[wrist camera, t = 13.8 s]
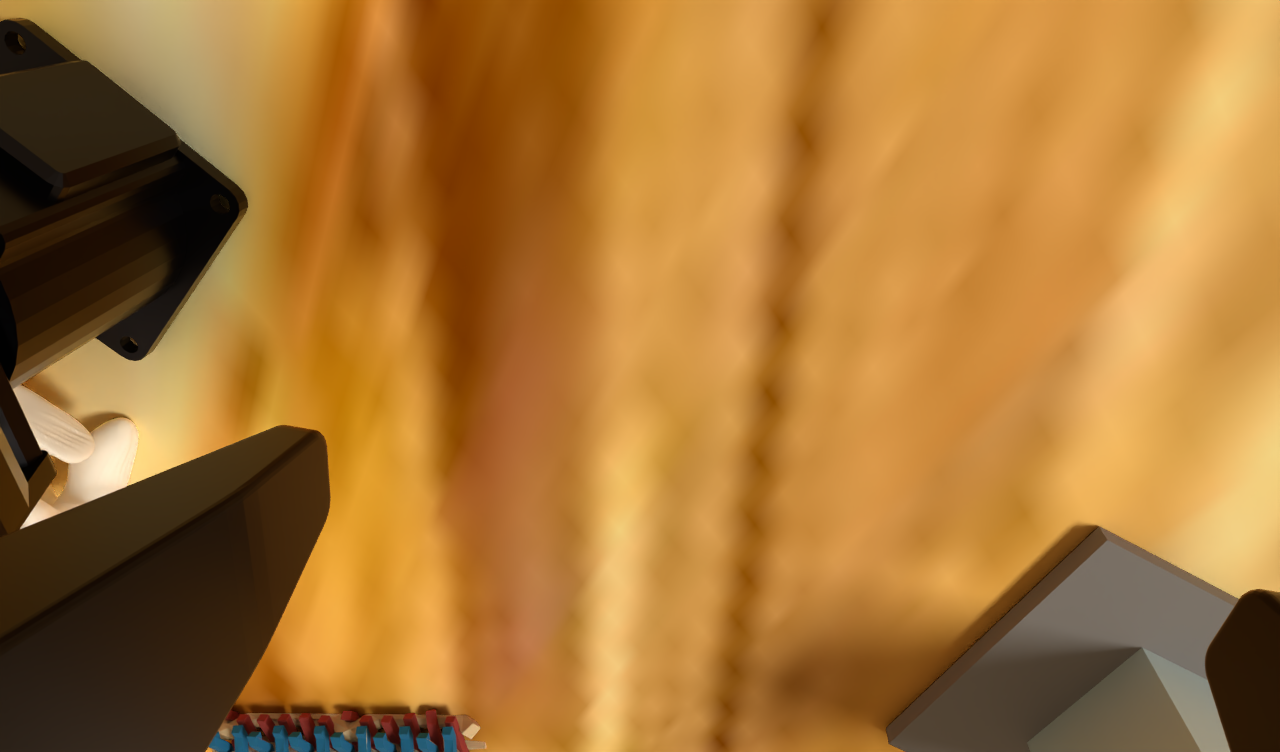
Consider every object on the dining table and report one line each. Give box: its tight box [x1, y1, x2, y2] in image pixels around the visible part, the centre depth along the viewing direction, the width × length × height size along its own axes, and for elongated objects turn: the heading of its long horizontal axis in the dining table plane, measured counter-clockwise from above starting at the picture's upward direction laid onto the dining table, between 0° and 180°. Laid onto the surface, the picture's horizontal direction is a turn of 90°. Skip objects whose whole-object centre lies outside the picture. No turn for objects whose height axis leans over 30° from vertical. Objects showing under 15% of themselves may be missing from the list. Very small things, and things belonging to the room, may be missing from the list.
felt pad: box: [886, 527, 1239, 752], centre depth 26 cm, size 10×10×1 cm
